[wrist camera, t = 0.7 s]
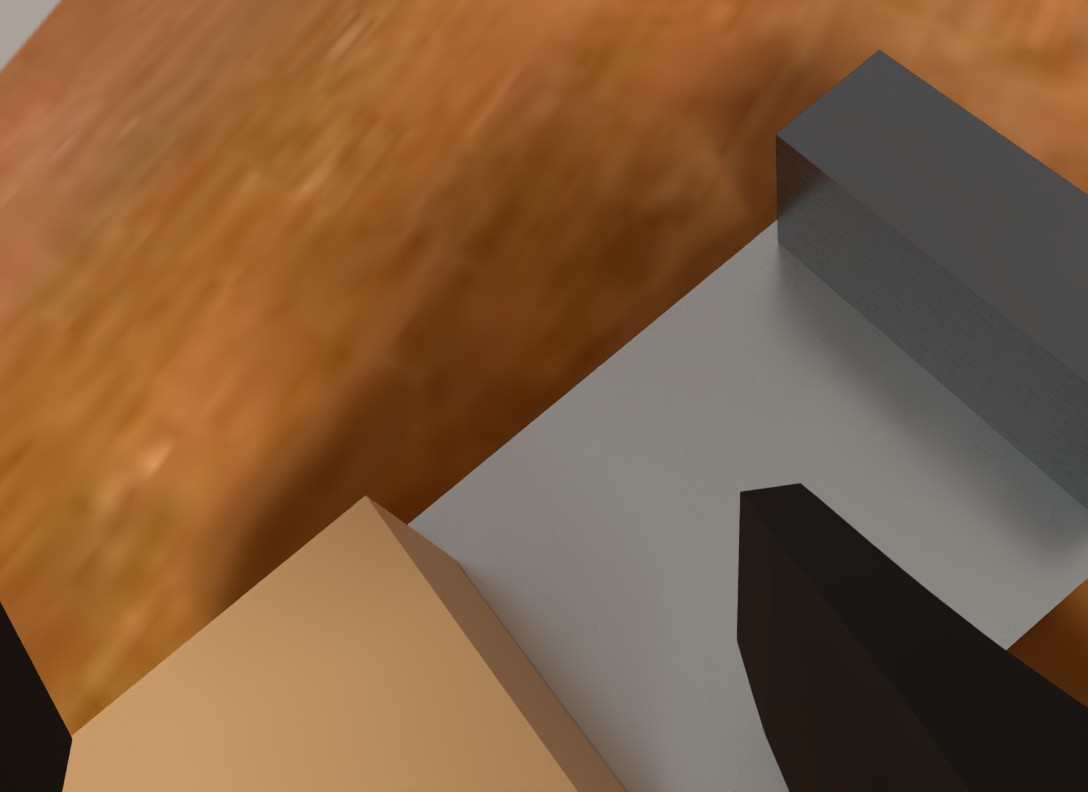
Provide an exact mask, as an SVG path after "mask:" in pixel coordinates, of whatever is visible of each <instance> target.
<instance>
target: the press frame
mask: <svg viewBox="0 0 1088 792" xmlns="http://www.w3.org/2000/svg"><path fill="white" fill-rule="evenodd" d="M776 167H777V220H776V221H775V222H774V223H773V224H771V225H770V226H769V227H768V228H766V229H765V230H764V231H763V232H762V233H760V234H759V235H758V236H757V237H756V238H754V239H753V240H752V241H751V242H750V243H748V244H747V245H746V246H745V247H743V248H742V249H741V250H740V251H739V252H737V253H736V254H735V255H734V256H733V257H731V258H730V259H729V260H728V261H727V262H725V263H724V264H723V265H722V266H720V267H719V268H718V269H717V270H716V271H714V272H713V273H712V274H711V275H710V276H708V277H707V278H706V279H705V280H703V281H702V282H701V283H700V284H699V285H697V286H696V287H695V288H694V289H693V290H691V291H690V292H689V293H688V294H687V295H685V296H684V297H683V298H682V299H680V300H679V301H678V302H677V303H676V304H674V305H673V306H672V307H671V308H670V309H668V310H667V311H666V312H665V313H663V314H662V315H661V316H660V317H659V318H657V319H656V320H655V321H654V322H653V323H651V324H650V325H649V326H648V327H647V328H645V329H644V330H643V331H642V332H640V333H639V334H638V335H637V336H636V337H634V338H633V339H632V340H631V341H630V342H628V343H627V344H626V345H625V346H623V347H622V348H621V349H620V350H619V351H617V352H616V353H615V354H614V355H613V356H611V357H610V358H609V359H608V360H607V361H605V362H604V363H603V364H602V365H600V366H599V367H598V368H597V369H596V370H594V371H593V372H592V373H591V374H590V375H588V376H587V377H586V378H585V379H584V380H582V381H581V382H580V383H579V384H577V385H576V386H575V387H574V388H573V389H571V390H570V391H569V392H568V393H567V394H565V395H564V396H563V397H562V398H560V399H559V400H558V401H557V402H556V403H554V404H553V405H552V406H551V407H550V408H548V409H547V410H546V411H545V412H544V413H542V414H541V415H540V416H539V417H537V418H536V419H535V420H534V421H533V422H531V423H530V424H529V425H528V426H527V427H525V428H524V429H523V430H522V431H520V432H519V433H518V434H517V435H516V436H514V437H513V438H512V439H511V440H510V441H508V442H507V443H506V444H505V445H504V446H502V447H501V448H500V449H499V450H497V451H496V452H495V453H494V454H493V455H491V456H490V457H489V458H488V459H487V460H485V461H484V462H483V463H482V464H480V465H479V466H478V467H477V468H476V469H474V470H473V471H472V472H471V473H470V474H468V475H467V476H466V477H465V478H464V479H462V480H461V481H460V482H459V483H457V484H456V485H455V486H454V487H453V488H451V489H450V490H449V491H448V492H447V493H445V494H444V495H443V496H442V497H441V498H439V499H438V500H437V501H436V502H434V503H433V504H432V505H431V506H430V507H428V508H427V509H426V510H425V511H424V512H422V513H421V514H420V515H419V516H417V517H416V518H415V519H414V520H413V521H411V522H410V523H409V524H408V526H409V527H411V528H412V529H413V530H415V531H416V532H418V533H419V534H420V535H422V536H423V537H425V538H426V539H427V540H429V541H430V542H432V543H433V544H434V545H436V546H437V547H439V548H440V549H441V550H443V551H444V552H446V553H447V554H448V555H450V556H451V557H453V559H454V560H455V562H456V563H457V564H458V566H459V567H460V568H461V570H462V571H463V572H464V574H465V575H466V576H467V578H468V579H469V580H470V582H471V583H472V584H473V586H474V587H475V588H476V590H477V591H478V593H479V594H480V595H481V597H482V598H483V599H484V601H485V602H486V603H487V605H488V606H489V607H490V609H491V610H492V611H493V613H494V614H495V615H496V617H497V618H498V620H499V621H500V622H501V624H502V625H503V626H504V628H505V629H506V630H507V632H508V633H509V634H510V636H511V637H512V638H513V640H514V641H515V642H516V644H517V645H518V646H519V648H520V649H521V651H522V652H523V653H524V655H525V656H526V657H527V659H528V660H529V661H530V663H531V664H532V665H533V667H534V668H535V669H536V671H537V672H538V673H539V675H540V676H541V678H542V679H543V680H544V682H545V683H546V684H547V686H548V687H549V688H550V690H551V691H552V692H553V694H554V695H555V696H556V698H557V699H558V700H559V702H560V703H561V705H562V706H563V707H564V709H565V710H566V711H567V713H568V714H569V715H570V717H571V718H572V719H573V721H574V722H575V723H576V725H577V726H578V727H579V729H580V730H581V731H582V733H583V734H584V736H585V737H586V738H587V740H588V741H589V742H590V744H591V745H592V746H593V748H594V749H595V750H596V752H597V753H598V754H599V756H600V757H601V758H602V760H603V761H604V763H605V764H606V765H607V767H608V768H609V769H610V771H611V772H612V773H613V775H614V776H615V777H616V779H617V780H618V781H619V783H620V784H621V785H622V787H623V788H624V789H625V791H626V792H789V790H788V788H787V785H786V783H785V781H784V778H783V776H782V774H781V771H780V769H779V767H778V764H777V762H776V760H775V757H774V755H773V752H772V750H771V748H770V745H769V743H768V740H767V738H766V736H765V733H764V730H763V727H762V724H761V720H760V717H759V714H758V711H757V707H756V704H755V701H754V698H753V694H752V691H751V688H750V684H749V681H748V677H747V674H746V671H745V667H744V664H743V660H742V657H741V653H740V650H739V647H738V643H737V603H738V559H739V516H740V491H748V490H755V489H762V488H769V487H776V486H783V485H790V484H797V483H801V484H802V485H804V486H805V487H806V488H807V489H808V490H810V491H811V492H812V493H813V494H815V495H816V496H817V497H818V498H819V499H821V500H822V501H823V502H824V503H825V504H826V505H828V506H829V507H830V508H831V509H832V510H834V511H835V512H836V513H837V514H838V515H839V516H841V517H842V518H843V519H844V520H845V521H846V522H848V523H849V524H850V525H851V526H852V527H853V528H855V529H856V530H857V531H858V532H859V533H860V534H862V535H863V536H864V537H865V538H866V539H867V540H869V541H870V542H871V543H872V544H873V545H875V546H876V547H877V548H878V549H879V550H880V551H882V552H883V553H884V554H885V555H886V556H888V557H889V558H890V559H891V560H892V561H894V562H895V563H896V564H897V565H898V566H900V567H901V568H902V569H903V570H904V571H906V572H907V573H908V574H909V575H910V576H912V577H913V578H914V579H915V580H917V581H918V582H919V583H920V584H921V585H923V586H924V587H925V588H926V589H928V590H929V591H930V592H931V593H933V594H934V595H935V596H936V597H938V598H939V599H940V600H942V601H943V602H944V603H945V604H947V605H948V606H949V607H950V608H952V609H953V610H954V611H956V612H957V613H958V614H959V615H961V616H962V617H963V618H965V619H966V620H967V621H968V622H970V623H971V624H972V625H973V626H975V627H976V628H977V629H979V630H980V631H981V632H982V633H984V634H985V635H986V636H988V637H989V638H990V639H992V640H993V641H994V642H996V643H997V644H998V645H1000V646H1001V647H1002V648H1004V649H1005V650H1007V649H1008V648H1009V647H1010V646H1011V645H1013V644H1014V643H1015V642H1016V641H1017V640H1018V639H1019V638H1020V637H1022V636H1023V635H1024V634H1025V633H1026V632H1027V631H1028V630H1029V629H1031V628H1032V627H1033V626H1034V625H1035V624H1036V623H1037V622H1038V621H1040V620H1041V619H1042V618H1043V617H1044V616H1045V615H1046V614H1047V613H1049V612H1050V611H1051V610H1052V609H1053V608H1054V607H1055V606H1057V605H1058V604H1059V603H1060V602H1061V601H1062V600H1063V599H1064V598H1066V597H1067V596H1068V595H1069V594H1070V593H1071V592H1072V591H1073V590H1075V589H1076V588H1077V587H1078V586H1079V585H1080V584H1081V583H1082V582H1084V581H1085V580H1086V579H1087V578H1088V195H1087V194H1086V193H1084V192H1083V191H1081V190H1080V189H1078V188H1077V187H1076V186H1074V185H1073V184H1071V183H1070V182H1068V181H1067V180H1066V179H1064V178H1063V177H1061V176H1060V175H1058V174H1057V173H1055V172H1054V171H1053V170H1051V169H1050V168H1048V167H1047V166H1045V165H1044V164H1043V163H1041V162H1040V161H1038V160H1037V159H1035V158H1034V157H1033V156H1031V155H1030V154H1028V153H1027V152H1025V151H1024V150H1022V149H1021V148H1020V147H1018V146H1017V145H1015V144H1014V143H1012V142H1011V141H1010V140H1008V139H1007V138H1005V137H1004V136H1002V135H1001V134H1000V133H998V132H997V131H995V130H994V129H992V128H991V127H989V126H988V125H987V124H985V123H984V122H982V121H981V120H979V119H978V118H977V117H975V116H974V115H972V114H971V113H969V112H968V111H967V110H965V109H964V108H962V107H961V106H959V105H958V104H956V103H955V102H954V101H952V100H951V99H949V98H948V97H946V96H945V95H944V94H942V93H941V92H939V91H938V90H936V89H935V88H934V87H932V86H931V85H929V84H928V83H926V82H925V81H923V80H922V79H921V78H919V77H918V76H916V75H915V74H913V73H912V72H911V71H909V70H908V69H906V68H905V67H903V66H902V65H901V64H899V63H898V62H896V61H895V60H893V59H892V58H890V57H889V56H888V55H886V54H885V53H883V52H882V51H880V50H878V51H877V52H876V53H875V54H873V55H872V56H871V57H870V58H869V59H867V60H866V61H865V62H864V63H862V64H861V65H860V66H859V67H858V68H856V69H855V70H854V71H853V72H851V73H850V74H849V75H848V76H847V77H845V78H844V79H843V80H842V81H840V82H839V83H838V84H837V85H836V86H834V87H833V88H832V89H831V90H829V91H828V92H827V93H826V94H825V95H823V96H822V97H821V98H820V99H818V100H817V101H816V102H815V103H813V104H812V105H811V106H810V107H809V108H807V109H806V110H805V111H804V112H802V113H801V114H800V115H799V116H798V117H796V118H795V119H794V120H793V121H791V122H790V123H789V124H788V125H787V126H785V127H784V128H783V129H782V130H780V131H779V132H778V133H777V134H776Z"/></svg>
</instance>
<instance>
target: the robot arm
mask: <svg viewBox="0 0 1088 792" xmlns="http://www.w3.org/2000/svg"><path fill="white" fill-rule="evenodd" d="M737 643H738V647H739V650H740V653H741V657H742V660H743V664H744V667H745V671H746V674H747V677H748V681H749V684H750V688H751V691H752V694H753V698H754V701H755V704H756V707H757V711H758V714H759V717H760V720H761V724H762V727H763V730H764V733H765V736H766V738H767V740H768V743H769V745H770V748H771V750H772V752H773V755H774V757H775V760H776V762H777V764H778V767H779V769H780V771H781V774H782V776H783V778H784V781H785V783H786V785H787V788H788V790H789V792H1088V708H1087V707H1085V706H1084V705H1082V704H1081V703H1080V702H1078V701H1077V700H1075V699H1074V698H1072V697H1071V696H1069V695H1068V694H1067V693H1065V692H1064V691H1062V690H1061V689H1060V688H1058V687H1057V686H1055V685H1054V684H1052V683H1051V682H1050V681H1048V680H1047V679H1045V678H1044V677H1043V676H1041V675H1040V674H1038V673H1037V672H1035V671H1034V670H1033V669H1031V668H1030V667H1028V666H1027V665H1026V664H1024V663H1023V662H1021V661H1020V660H1019V659H1017V658H1016V657H1014V656H1013V655H1012V654H1010V653H1009V652H1008V651H1006V650H1005V649H1004V648H1002V647H1001V646H1000V645H998V644H997V643H996V642H994V641H993V640H992V639H990V638H989V637H988V636H986V635H985V634H984V633H982V632H981V631H980V630H979V629H977V628H976V627H975V626H973V625H972V624H971V623H970V622H968V621H967V620H966V619H965V618H963V617H962V616H961V615H959V614H958V613H957V612H956V611H954V610H953V609H952V608H950V607H949V606H948V605H947V604H945V603H944V602H943V601H942V600H940V599H939V598H938V597H936V596H935V595H934V594H933V593H931V592H930V591H929V590H928V589H926V588H925V587H924V586H923V585H921V584H920V583H919V582H918V581H917V580H915V579H914V578H913V577H912V576H910V575H909V574H908V573H907V572H906V571H904V570H903V569H902V568H901V567H900V566H898V565H897V564H896V563H895V562H894V561H892V560H891V559H890V558H889V557H888V556H886V555H885V554H884V553H883V552H882V551H880V550H879V549H878V548H877V547H876V546H875V545H873V544H872V543H871V542H870V541H869V540H867V539H866V538H865V537H864V536H863V535H862V534H860V533H859V532H858V531H857V530H856V529H855V528H853V527H852V526H851V525H850V524H849V523H848V522H846V521H845V520H844V519H843V518H842V517H841V516H839V515H838V514H837V513H836V512H835V511H834V510H832V509H831V508H830V507H829V506H828V505H826V504H825V503H824V502H823V501H822V500H821V499H819V498H818V497H817V496H816V495H815V494H813V493H812V492H811V491H810V490H808V489H807V488H806V487H805V486H804V485H802V484H801V483H797V484H790V485H783V486H776V487H769V488H762V489H755V490H748V491H740V516H739V559H738V603H737ZM72 740H73V739H72V737H71V735H70V733H69V731H68V730H67V728H66V726H65V724H64V722H63V720H62V718H61V716H60V714H59V712H58V711H57V709H56V707H55V705H54V703H53V701H52V699H51V697H50V695H49V694H48V692H47V690H46V688H45V686H44V684H43V682H42V680H41V678H40V676H39V675H38V673H37V671H36V669H35V667H34V665H33V663H32V661H31V659H30V657H29V656H28V654H27V652H26V650H25V648H24V646H23V644H22V642H21V640H20V638H19V637H18V635H17V633H16V631H15V629H14V627H13V625H12V623H11V621H10V619H9V618H8V616H7V614H6V612H5V610H4V608H3V606H2V604H1V602H0V792H62V791H63V786H64V781H65V776H66V771H67V765H68V760H69V755H70V750H71V745H72Z"/></svg>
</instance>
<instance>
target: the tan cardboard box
mask: <svg viewBox="0 0 1088 792" xmlns="http://www.w3.org/2000/svg"><path fill="white" fill-rule="evenodd" d="M71 737H72V739H73V740H72V745H71V750H70V755H69V760H68V765H67V771H66V776H65V781H64V786H63V791H62V792H626V791H625V789H624V788H623V787H622V785H621V784H620V783H619V781H618V780H617V779H616V777H615V776H614V775H613V773H612V772H611V771H610V769H609V768H608V767H607V765H606V764H605V763H604V761H603V760H602V758H601V757H600V756H599V754H598V753H597V752H596V750H595V749H594V748H593V746H592V745H591V744H590V742H589V741H588V740H587V738H586V737H585V736H584V734H583V733H582V731H581V730H580V729H579V727H578V726H577V725H576V723H575V722H574V721H573V719H572V718H571V717H570V715H569V714H568V713H567V711H566V710H565V709H564V707H563V706H562V705H561V703H560V702H559V700H558V699H557V698H556V696H555V695H554V694H553V692H552V691H551V690H550V688H549V687H548V686H547V684H546V683H545V682H544V680H543V679H542V678H541V676H540V675H539V673H538V672H537V671H536V669H535V668H534V667H533V665H532V664H531V663H530V661H529V660H528V659H527V657H526V656H525V655H524V653H523V652H522V651H521V649H520V648H519V646H518V645H517V644H516V642H515V641H514V640H513V638H512V637H511V636H510V634H509V633H508V632H507V630H506V629H505V628H504V626H503V625H502V624H501V622H500V621H499V620H498V618H497V617H496V615H495V614H494V613H493V611H492V610H491V609H490V607H489V606H488V605H487V603H486V602H485V601H484V599H483V598H482V597H481V595H480V594H479V593H478V591H477V590H476V588H475V587H474V586H473V584H472V583H471V582H470V580H469V579H468V578H467V576H466V575H465V574H464V572H463V571H462V570H461V568H460V567H459V566H458V564H457V563H456V562H455V560H454V559H453V557H451V556H450V555H448V554H447V553H446V552H444V551H443V550H441V549H440V548H439V547H437V546H436V545H434V544H433V543H432V542H430V541H429V540H427V539H426V538H425V537H423V536H422V535H420V534H419V533H418V532H416V531H415V530H413V529H412V528H411V527H409V526H408V525H406V524H405V523H404V522H402V521H401V520H399V519H398V518H397V517H395V516H394V515H392V514H391V513H390V512H388V511H387V510H385V509H384V508H383V507H381V506H380V505H379V504H377V503H376V502H374V501H373V500H372V499H370V498H369V497H367V496H366V495H365V496H364V497H363V498H362V499H360V500H359V501H358V502H357V503H356V504H354V505H353V506H352V507H351V508H349V509H348V510H347V511H346V512H345V513H343V514H342V515H341V516H340V517H338V518H337V519H336V520H335V521H334V522H332V523H331V524H330V525H329V526H327V527H326V528H325V529H324V530H323V531H321V532H320V533H319V534H318V535H316V536H315V537H314V538H313V539H312V540H310V541H309V542H308V543H307V544H305V545H304V546H303V547H302V548H301V549H299V550H298V551H297V552H296V553H295V554H293V555H292V556H291V557H290V558H288V559H287V560H286V561H285V562H284V563H282V564H281V565H280V566H279V567H277V568H276V569H275V570H274V571H273V572H271V573H270V574H269V575H268V576H266V577H265V578H264V579H263V580H262V581H260V582H259V583H258V584H257V585H255V586H254V587H253V588H252V589H251V590H249V591H248V592H247V593H246V594H244V595H243V596H242V597H241V598H240V599H238V600H237V601H236V602H235V603H233V604H232V605H231V606H230V607H229V608H227V609H226V610H225V611H224V612H222V613H221V614H220V615H219V616H218V617H216V618H215V619H214V620H213V621H211V622H210V623H209V624H208V625H207V626H205V627H204V628H203V629H202V630H201V631H199V632H198V633H197V634H196V635H194V636H193V637H192V638H191V639H190V640H188V641H187V642H186V643H185V644H183V645H182V646H181V647H180V648H179V649H177V650H176V651H175V652H174V653H172V654H171V655H170V656H169V657H168V658H166V659H165V660H164V661H163V662H161V663H160V664H159V665H158V666H157V667H155V668H154V669H153V670H152V671H150V672H149V673H148V674H147V675H146V676H144V677H143V678H142V679H141V680H139V681H138V682H137V683H136V684H135V685H133V686H132V687H131V688H130V689H128V690H127V691H126V692H125V693H124V694H122V695H121V696H120V697H119V698H118V699H116V700H115V701H114V702H113V703H111V704H110V705H109V706H108V707H107V708H105V709H104V710H103V711H102V712H100V713H99V714H98V715H97V716H96V717H94V718H93V719H92V720H91V721H89V722H88V723H87V724H86V725H85V726H83V727H82V728H81V729H80V730H78V731H77V732H76V733H75V734H74V735H72V736H71Z"/></svg>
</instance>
